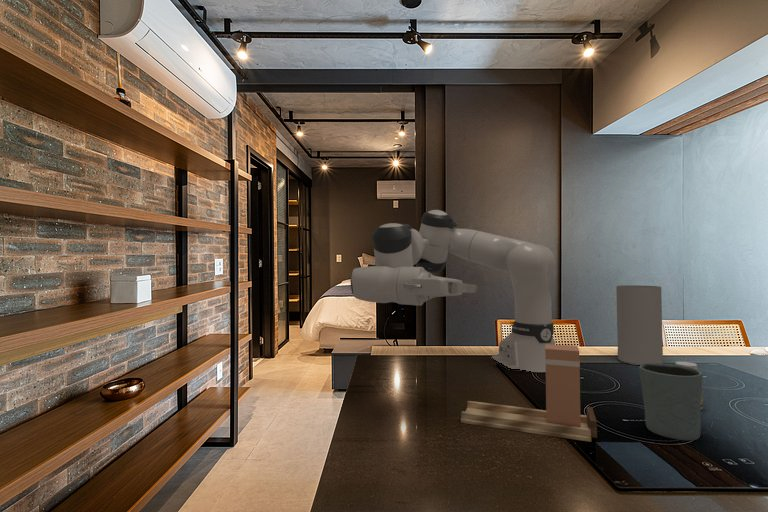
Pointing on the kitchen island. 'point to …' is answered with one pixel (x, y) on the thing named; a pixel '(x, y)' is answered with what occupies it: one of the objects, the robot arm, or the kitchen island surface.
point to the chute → (527, 420)
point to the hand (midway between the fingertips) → (475, 288)
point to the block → (562, 385)
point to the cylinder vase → (639, 324)
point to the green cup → (672, 400)
